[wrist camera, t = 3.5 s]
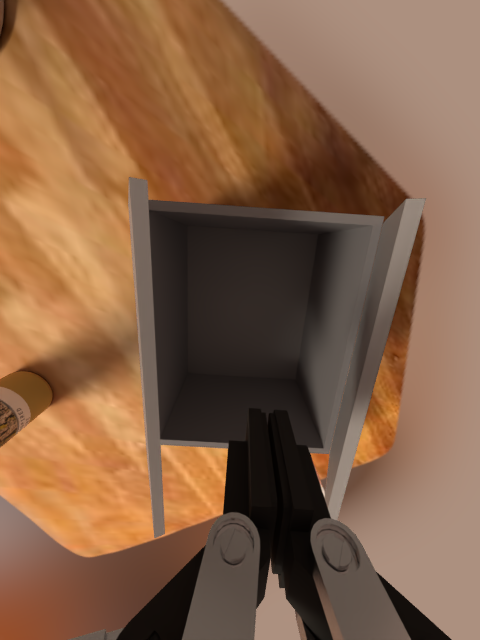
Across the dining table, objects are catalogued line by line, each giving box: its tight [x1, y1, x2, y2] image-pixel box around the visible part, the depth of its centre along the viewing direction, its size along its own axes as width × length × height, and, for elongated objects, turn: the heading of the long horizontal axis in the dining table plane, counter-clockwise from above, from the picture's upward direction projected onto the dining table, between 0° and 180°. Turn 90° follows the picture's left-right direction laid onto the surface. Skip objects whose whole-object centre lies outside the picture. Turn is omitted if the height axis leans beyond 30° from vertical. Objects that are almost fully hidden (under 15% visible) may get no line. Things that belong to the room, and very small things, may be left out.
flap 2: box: [325, 198, 426, 520], centre depth 15 cm, size 8×19×1 cm
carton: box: [148, 200, 384, 454], centre depth 24 cm, size 20×16×12 cm
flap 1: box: [128, 177, 165, 538], centre depth 14 cm, size 8×19×1 cm
